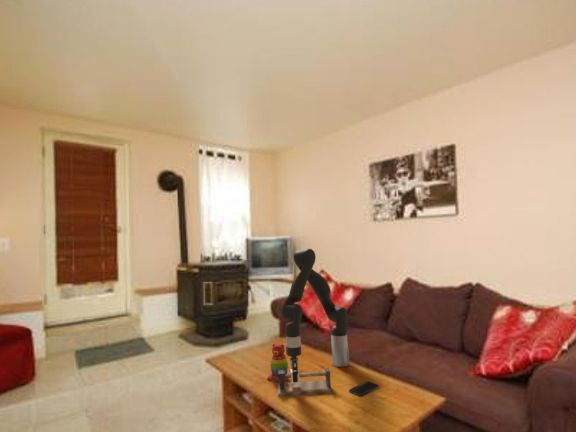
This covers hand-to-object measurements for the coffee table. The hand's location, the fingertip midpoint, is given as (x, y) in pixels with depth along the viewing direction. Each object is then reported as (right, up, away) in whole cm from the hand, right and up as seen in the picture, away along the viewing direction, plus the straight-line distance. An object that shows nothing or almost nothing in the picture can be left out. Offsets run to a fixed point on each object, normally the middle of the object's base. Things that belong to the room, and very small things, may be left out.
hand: (294, 379), depth 173 cm
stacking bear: (-8, -7, +15) cm, 19 cm away
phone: (+34, -4, -3) cm, 34 cm away
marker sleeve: (0, -1, 0) cm, 1 cm away
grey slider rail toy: (+5, -5, 0) cm, 7 cm away
